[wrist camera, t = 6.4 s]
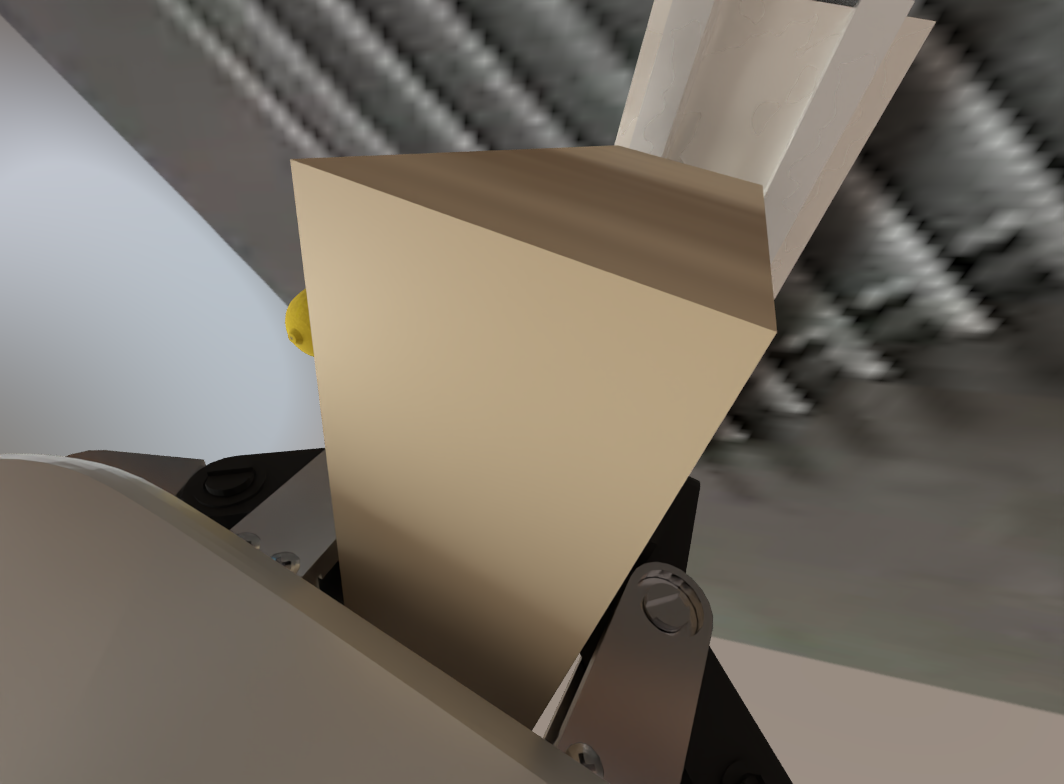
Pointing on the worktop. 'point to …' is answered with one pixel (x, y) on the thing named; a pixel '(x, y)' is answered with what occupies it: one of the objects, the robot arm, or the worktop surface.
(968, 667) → the worktop surface
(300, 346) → the lemon
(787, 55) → the bottom track
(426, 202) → the tan wooden block
